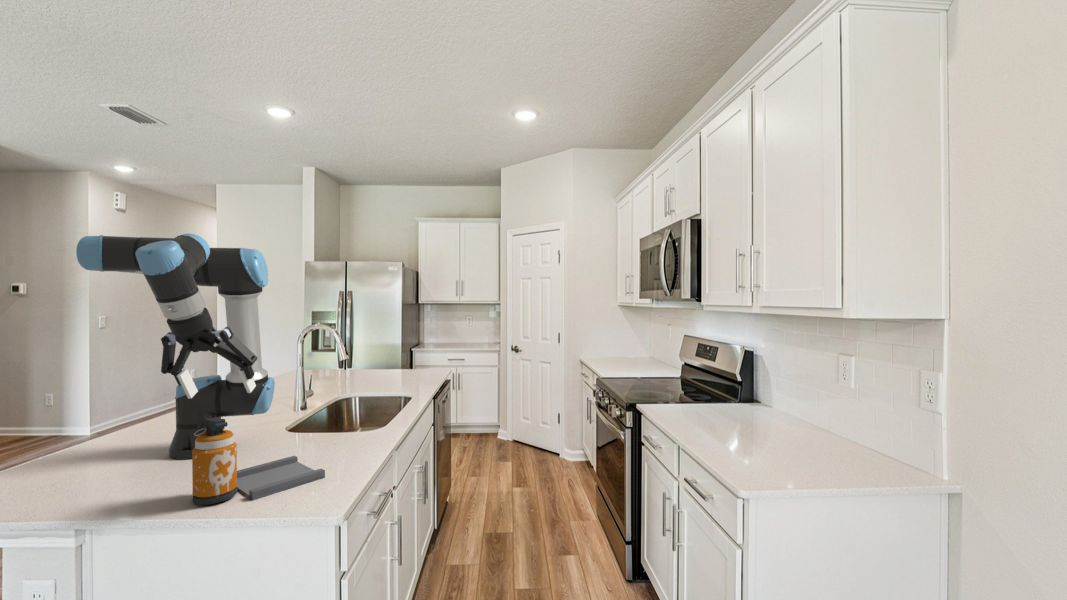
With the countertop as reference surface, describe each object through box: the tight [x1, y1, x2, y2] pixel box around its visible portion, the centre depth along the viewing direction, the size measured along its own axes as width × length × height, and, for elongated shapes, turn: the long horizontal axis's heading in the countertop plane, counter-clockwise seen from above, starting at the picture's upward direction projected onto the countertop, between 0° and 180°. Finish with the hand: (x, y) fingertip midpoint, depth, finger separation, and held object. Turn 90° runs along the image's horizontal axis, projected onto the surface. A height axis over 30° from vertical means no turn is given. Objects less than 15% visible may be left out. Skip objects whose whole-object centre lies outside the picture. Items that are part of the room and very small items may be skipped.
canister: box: [191, 415, 238, 506], centre depth 115 cm, size 9×11×20 cm
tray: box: [237, 455, 326, 501], centre depth 126 cm, size 18×18×2 cm
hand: (222, 392), depth 110 cm, fingers open, 13 cm apart
